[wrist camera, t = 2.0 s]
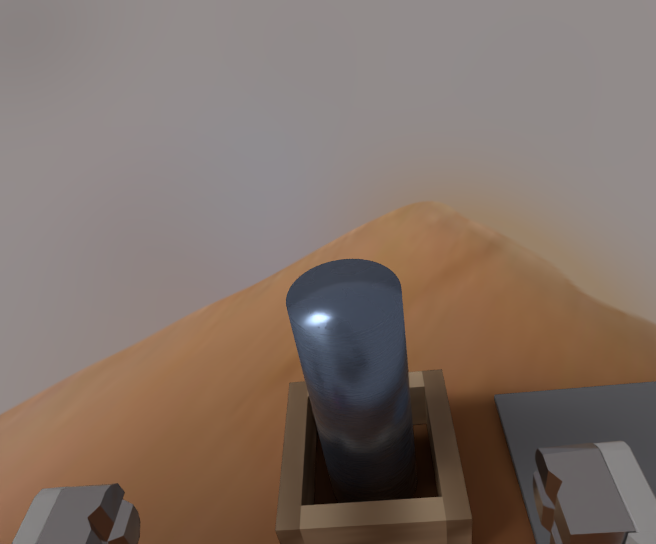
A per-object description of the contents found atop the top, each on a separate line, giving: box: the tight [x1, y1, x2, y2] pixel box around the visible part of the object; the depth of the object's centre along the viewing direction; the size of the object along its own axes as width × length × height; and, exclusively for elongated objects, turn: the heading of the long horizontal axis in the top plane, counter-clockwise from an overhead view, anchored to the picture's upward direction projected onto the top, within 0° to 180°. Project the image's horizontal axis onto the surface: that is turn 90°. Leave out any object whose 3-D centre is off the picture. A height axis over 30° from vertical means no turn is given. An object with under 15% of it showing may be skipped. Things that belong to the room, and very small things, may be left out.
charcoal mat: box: [494, 382, 656, 544], centre depth 30 cm, size 10×10×1 cm
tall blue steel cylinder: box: [286, 259, 417, 503], centre depth 28 cm, size 5×5×14 cm
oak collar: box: [275, 369, 472, 544], centre depth 31 cm, size 9×9×4 cm
